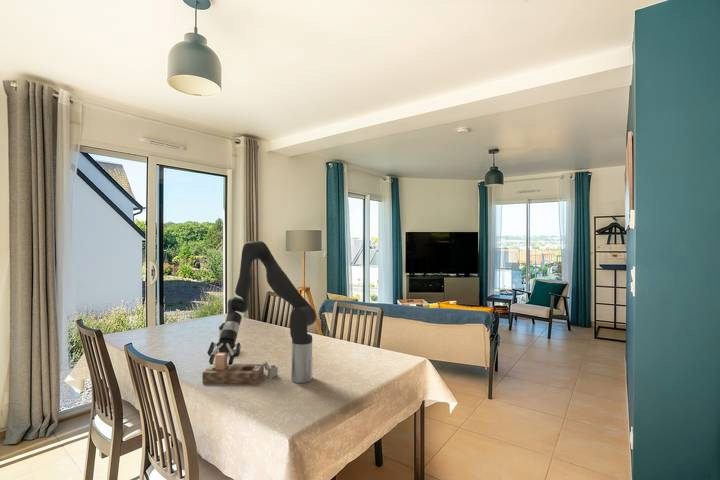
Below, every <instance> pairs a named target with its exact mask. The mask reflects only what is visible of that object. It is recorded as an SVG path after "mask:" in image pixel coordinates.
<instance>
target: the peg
mask: <svg viewBox="0 0 720 480" xmlns="http://www.w3.org/2000/svg"><path fill="white" fill-rule="evenodd" d="M214 363H215V370H226V369H227V364H228V353H225V352H219V353H217V354H216V355H215V358H214Z"/></svg>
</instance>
